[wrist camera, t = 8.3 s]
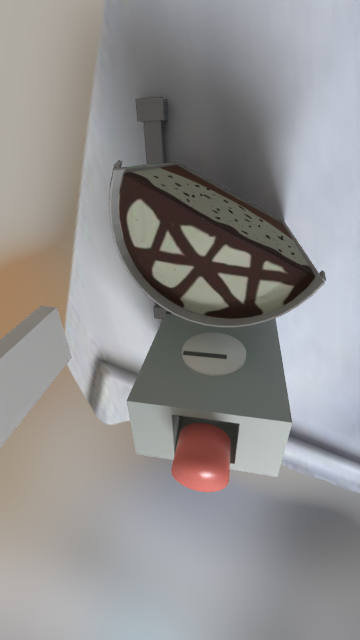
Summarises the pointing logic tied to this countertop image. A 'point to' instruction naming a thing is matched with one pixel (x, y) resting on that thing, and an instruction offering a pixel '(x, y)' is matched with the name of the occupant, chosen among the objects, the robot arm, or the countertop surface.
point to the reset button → (202, 457)
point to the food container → (206, 248)
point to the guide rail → (154, 144)
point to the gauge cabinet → (213, 391)
